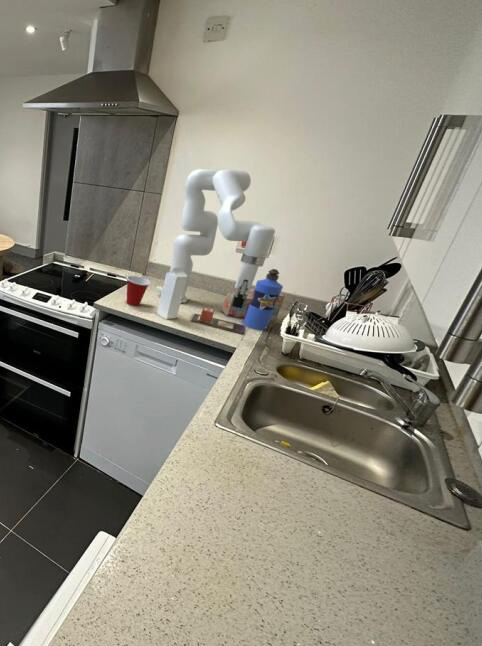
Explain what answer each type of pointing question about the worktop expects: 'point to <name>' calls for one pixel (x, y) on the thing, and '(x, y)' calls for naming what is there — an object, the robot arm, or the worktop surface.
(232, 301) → the letter I
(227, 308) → the stack of blocks
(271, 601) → the worktop surface
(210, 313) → the letter H
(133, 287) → the plastic cup
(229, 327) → the word board
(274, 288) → the water bottle
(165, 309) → the milk
